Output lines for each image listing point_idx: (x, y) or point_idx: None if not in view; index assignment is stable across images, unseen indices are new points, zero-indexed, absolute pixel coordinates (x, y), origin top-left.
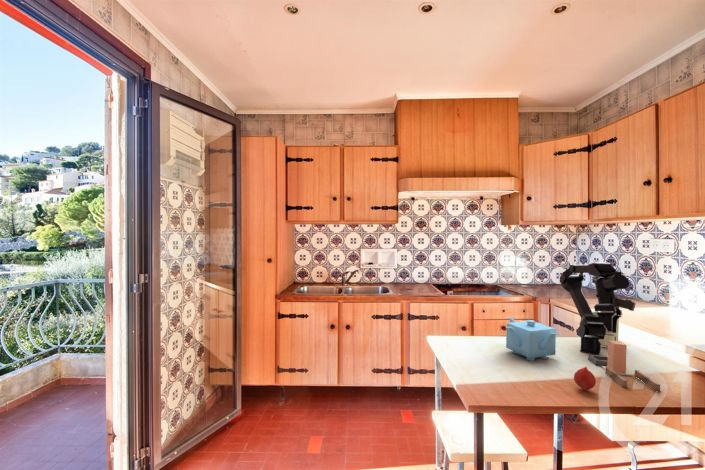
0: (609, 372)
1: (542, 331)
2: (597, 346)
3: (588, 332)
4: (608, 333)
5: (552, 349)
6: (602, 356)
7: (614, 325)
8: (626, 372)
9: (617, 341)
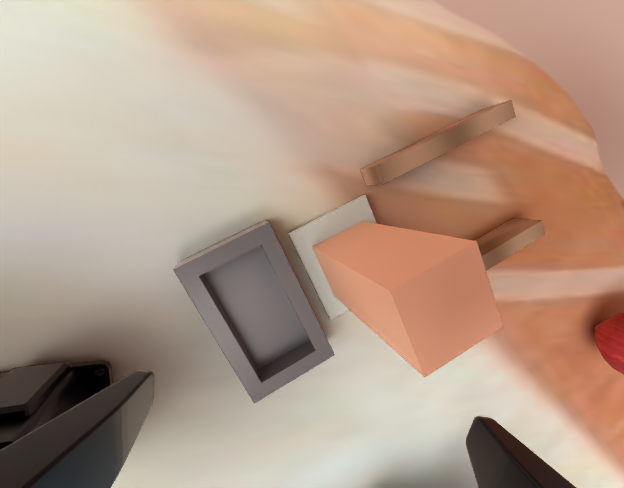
0: None
1: None
2: (55, 403)
3: None
4: None
5: None
6: (229, 338)
7: (67, 482)
8: (349, 217)
9: (414, 311)
